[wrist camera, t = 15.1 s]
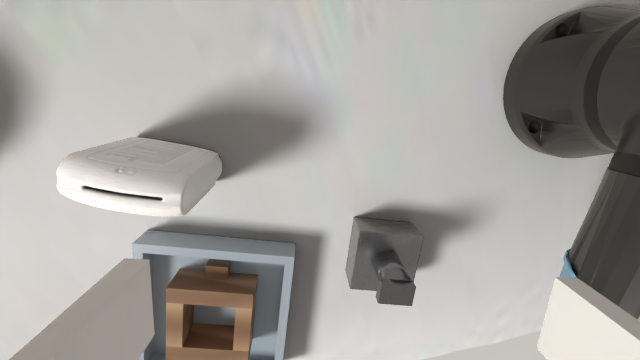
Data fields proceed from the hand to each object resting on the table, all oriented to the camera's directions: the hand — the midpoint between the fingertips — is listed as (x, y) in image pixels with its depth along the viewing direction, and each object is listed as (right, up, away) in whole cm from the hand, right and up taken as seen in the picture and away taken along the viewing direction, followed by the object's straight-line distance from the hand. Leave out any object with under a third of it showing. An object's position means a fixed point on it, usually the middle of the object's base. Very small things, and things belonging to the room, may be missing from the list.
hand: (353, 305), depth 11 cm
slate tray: (-14, -11, +30) cm, 35 cm away
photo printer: (-17, +6, +26) cm, 31 cm away
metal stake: (+6, -4, +29) cm, 30 cm away
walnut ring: (-13, -11, +29) cm, 34 cm away
